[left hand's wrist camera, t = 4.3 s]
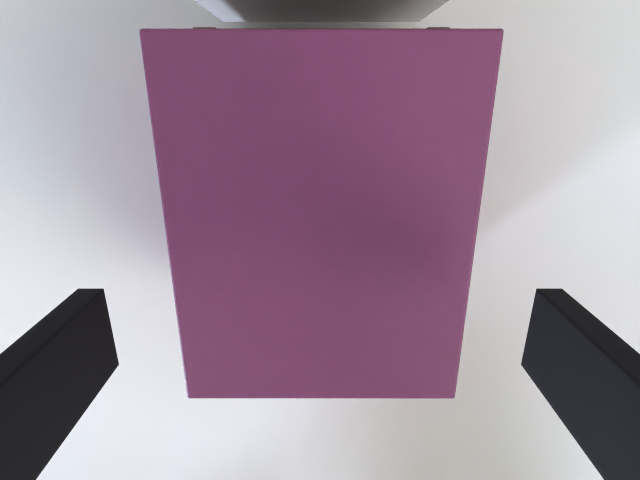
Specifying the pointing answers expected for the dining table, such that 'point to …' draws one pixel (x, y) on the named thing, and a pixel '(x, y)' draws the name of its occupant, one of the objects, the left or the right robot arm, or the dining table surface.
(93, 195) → the dining table surface
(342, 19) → the drawer
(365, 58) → the mauve rectangular box
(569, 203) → the dining table surface
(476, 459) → the dining table surface
